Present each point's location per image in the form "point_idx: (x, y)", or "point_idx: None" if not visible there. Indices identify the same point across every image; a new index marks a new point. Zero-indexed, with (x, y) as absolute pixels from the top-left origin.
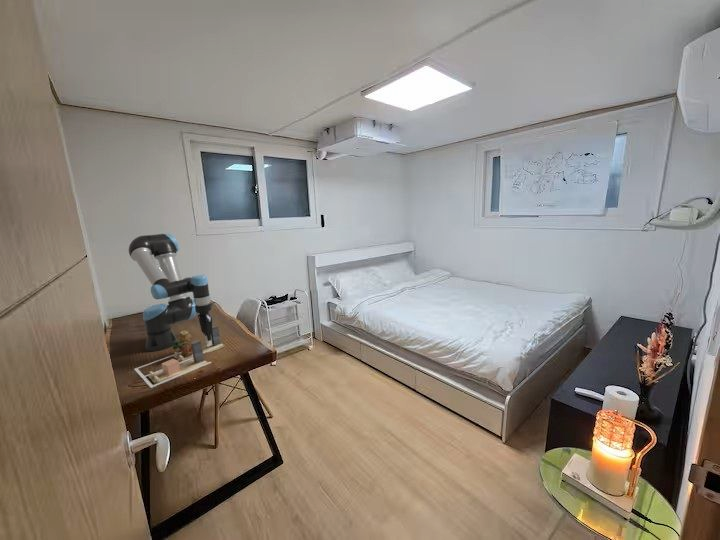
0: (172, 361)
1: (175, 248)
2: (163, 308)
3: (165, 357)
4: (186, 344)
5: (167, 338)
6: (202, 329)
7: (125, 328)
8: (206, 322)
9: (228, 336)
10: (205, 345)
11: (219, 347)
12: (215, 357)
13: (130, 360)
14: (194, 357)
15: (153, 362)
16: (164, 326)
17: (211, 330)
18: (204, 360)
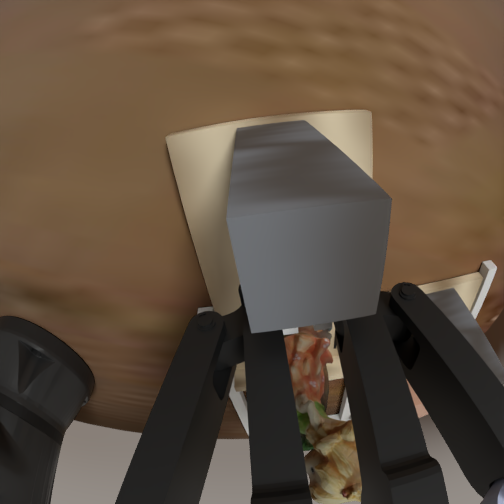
0: (420, 408)
1: None
2: None
3: (229, 394)
4: (320, 402)
5: (55, 389)
6: (229, 384)
7: None
8: (476, 478)
9: (115, 12)
10: (219, 234)
11: (371, 159)
12: (454, 225)
13: (140, 423)
14: None
15: (245, 414)
16: (31, 445)
17: (443, 328)
18: (452, 286)
